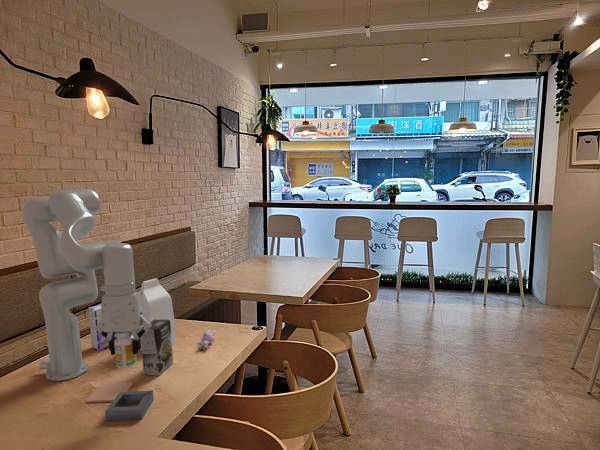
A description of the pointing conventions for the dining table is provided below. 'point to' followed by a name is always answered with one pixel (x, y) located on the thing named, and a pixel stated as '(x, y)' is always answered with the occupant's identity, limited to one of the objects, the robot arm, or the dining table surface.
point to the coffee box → (157, 347)
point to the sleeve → (129, 413)
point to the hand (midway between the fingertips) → (125, 352)
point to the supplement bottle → (124, 350)
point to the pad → (108, 392)
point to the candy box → (96, 337)
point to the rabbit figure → (206, 340)
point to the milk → (157, 304)
